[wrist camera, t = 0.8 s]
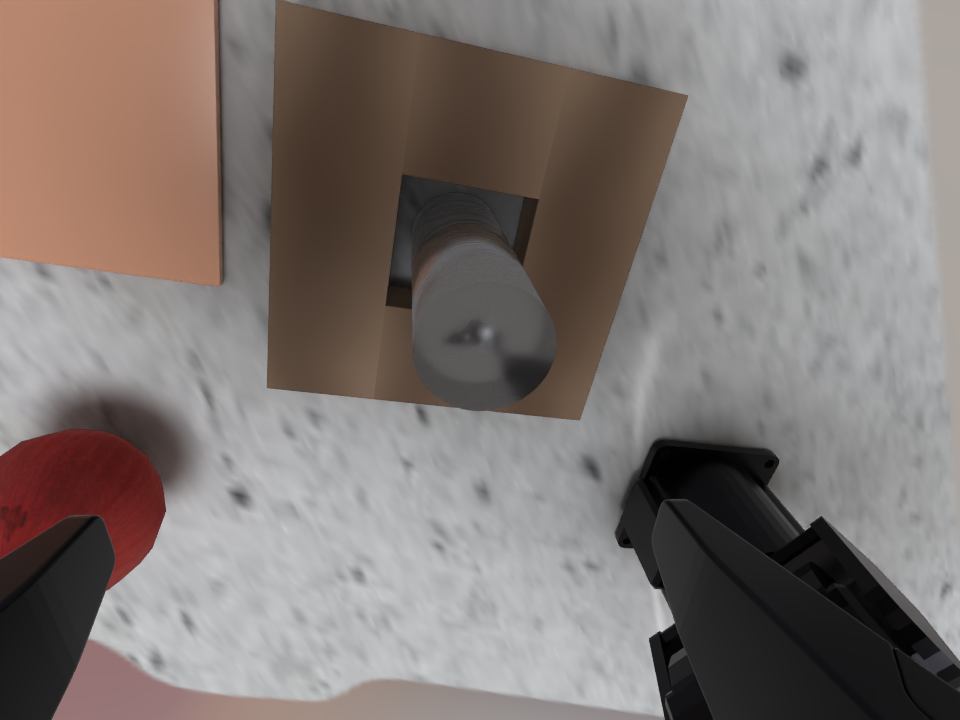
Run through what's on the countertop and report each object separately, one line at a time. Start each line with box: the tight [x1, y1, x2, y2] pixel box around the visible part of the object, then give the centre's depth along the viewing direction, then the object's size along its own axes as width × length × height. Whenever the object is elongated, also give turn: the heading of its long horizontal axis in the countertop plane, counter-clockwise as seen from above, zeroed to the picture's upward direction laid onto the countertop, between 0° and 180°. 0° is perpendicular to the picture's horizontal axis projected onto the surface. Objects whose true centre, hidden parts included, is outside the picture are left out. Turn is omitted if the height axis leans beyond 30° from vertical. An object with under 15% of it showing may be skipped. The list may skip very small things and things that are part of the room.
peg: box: [411, 192, 557, 411], centre depth 16 cm, size 3×3×9 cm
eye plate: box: [267, 0, 688, 420], centre depth 19 cm, size 12×12×2 cm
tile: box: [0, 0, 223, 287], centre depth 16 cm, size 10×10×1 cm
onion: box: [0, 429, 166, 590], centre depth 19 cm, size 6×6×8 cm
